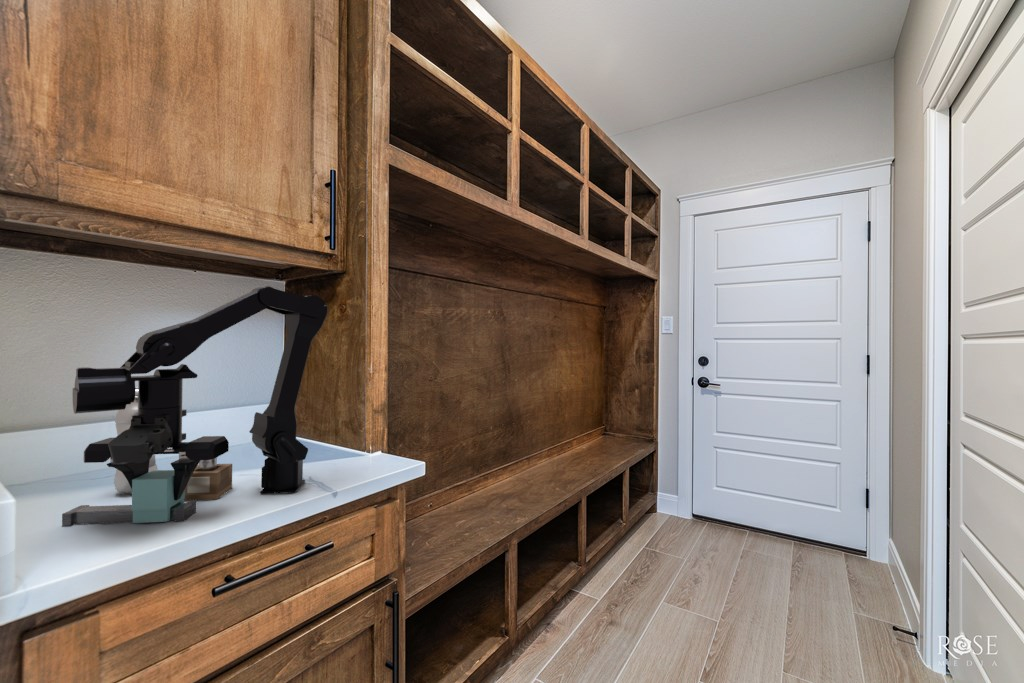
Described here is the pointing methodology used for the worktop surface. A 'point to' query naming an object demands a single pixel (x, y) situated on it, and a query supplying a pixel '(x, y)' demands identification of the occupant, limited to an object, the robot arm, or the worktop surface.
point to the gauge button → (208, 465)
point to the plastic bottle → (122, 424)
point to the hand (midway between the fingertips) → (159, 500)
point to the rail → (119, 514)
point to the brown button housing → (209, 483)
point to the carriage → (153, 496)
